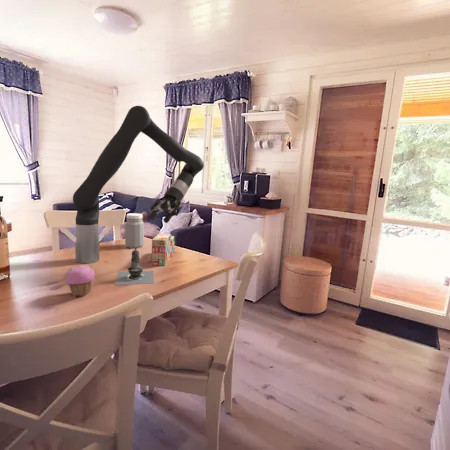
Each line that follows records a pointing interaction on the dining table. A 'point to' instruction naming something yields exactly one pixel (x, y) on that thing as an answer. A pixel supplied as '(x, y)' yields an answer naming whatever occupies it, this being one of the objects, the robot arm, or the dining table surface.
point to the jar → (134, 230)
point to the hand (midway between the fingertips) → (157, 220)
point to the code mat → (124, 279)
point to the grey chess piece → (135, 266)
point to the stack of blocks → (162, 249)
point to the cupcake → (80, 279)
